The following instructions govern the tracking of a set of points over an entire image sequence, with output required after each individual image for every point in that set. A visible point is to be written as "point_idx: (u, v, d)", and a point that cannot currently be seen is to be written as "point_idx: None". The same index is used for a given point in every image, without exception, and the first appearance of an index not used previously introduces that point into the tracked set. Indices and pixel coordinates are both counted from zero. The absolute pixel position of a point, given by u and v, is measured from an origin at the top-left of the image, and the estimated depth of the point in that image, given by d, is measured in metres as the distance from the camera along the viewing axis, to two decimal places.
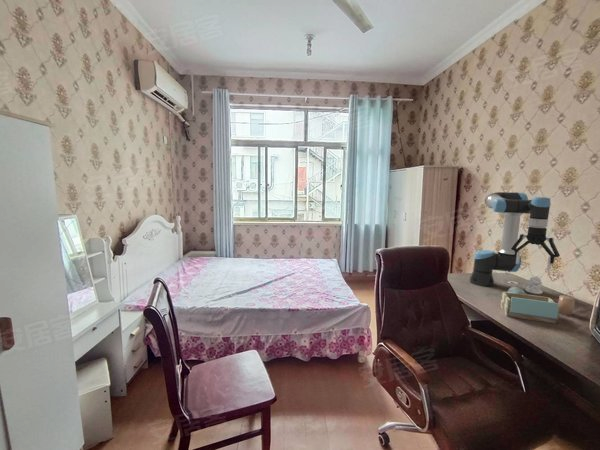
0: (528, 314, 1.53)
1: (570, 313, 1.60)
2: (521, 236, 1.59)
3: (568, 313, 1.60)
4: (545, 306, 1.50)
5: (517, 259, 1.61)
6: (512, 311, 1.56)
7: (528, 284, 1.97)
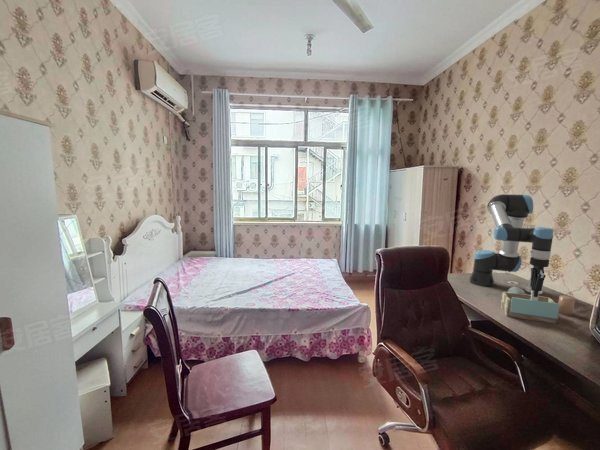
0: (528, 314, 1.53)
1: (570, 313, 1.60)
2: (531, 269, 1.56)
3: (568, 313, 1.60)
4: (545, 306, 1.50)
5: (531, 297, 1.53)
6: (512, 311, 1.56)
7: (528, 284, 1.97)
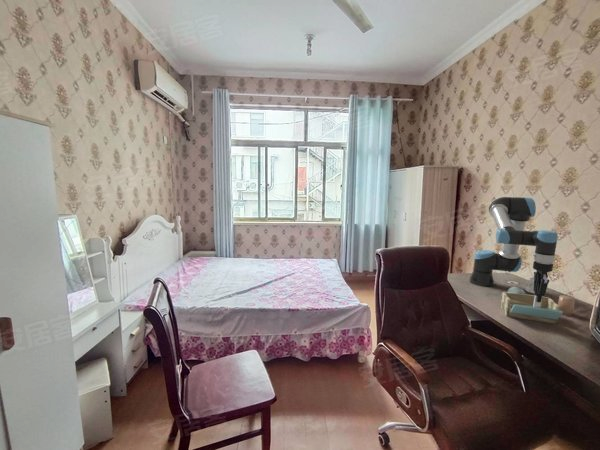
0: (528, 315, 1.53)
1: (570, 313, 1.60)
2: (534, 274, 1.51)
3: (568, 313, 1.60)
4: (548, 312, 1.47)
5: (534, 302, 1.49)
6: (512, 312, 1.55)
7: (528, 284, 1.97)
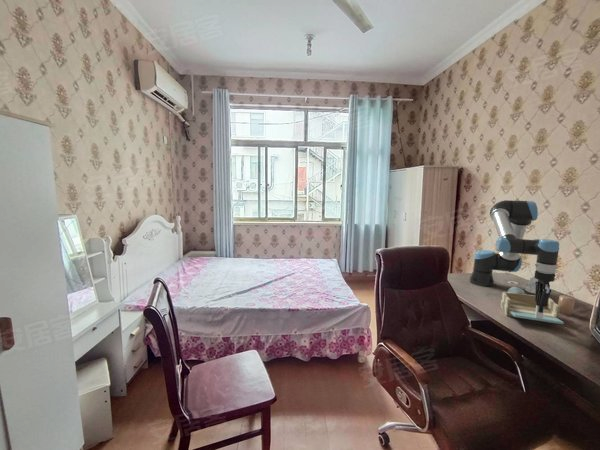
0: None
1: (570, 313, 1.60)
2: (536, 283, 1.49)
3: (568, 313, 1.60)
4: None
5: (535, 312, 1.46)
6: None
7: (528, 284, 1.97)
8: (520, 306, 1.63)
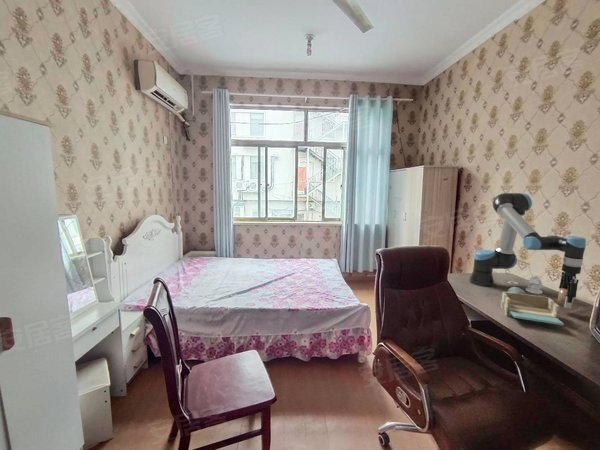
0: None
1: None
2: (562, 273, 1.66)
3: None
4: None
5: None
6: None
7: (528, 284, 1.97)
8: (520, 306, 1.63)
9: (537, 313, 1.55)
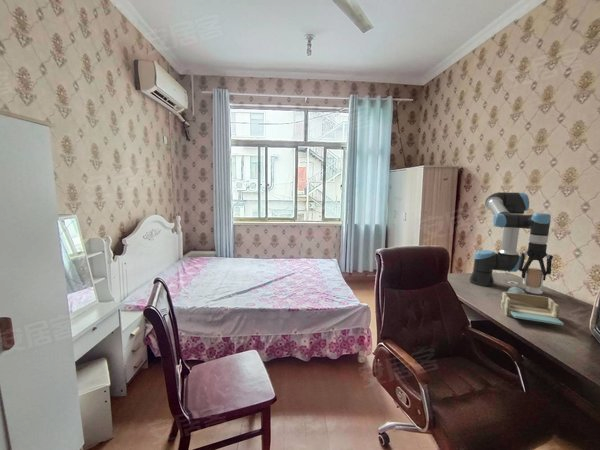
0: None
1: None
2: (523, 255, 1.56)
3: None
4: None
5: (526, 280, 1.57)
6: None
7: None
8: (520, 306, 1.63)
9: (537, 313, 1.55)
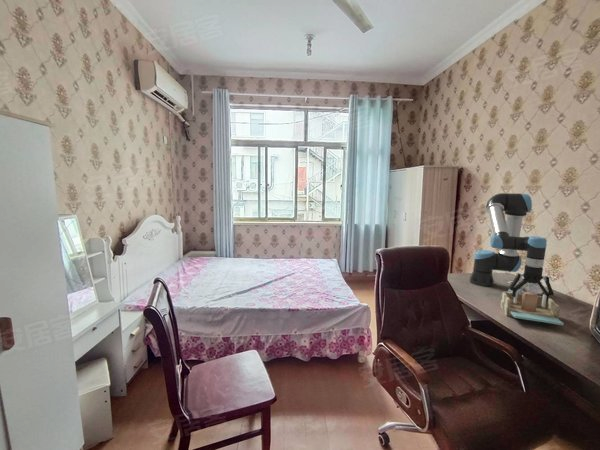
0: None
1: None
2: (519, 276, 1.58)
3: None
4: None
5: (516, 299, 1.60)
6: None
7: (528, 284, 1.97)
8: (520, 306, 1.63)
9: (537, 313, 1.55)
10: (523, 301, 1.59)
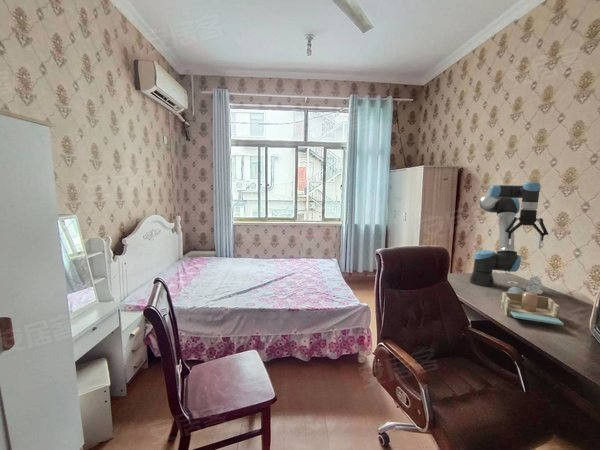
0: None
1: None
2: (515, 219, 1.72)
3: None
4: None
5: (512, 240, 1.74)
6: None
7: (528, 284, 1.97)
8: (520, 306, 1.63)
9: (537, 313, 1.55)
10: (523, 301, 1.59)
